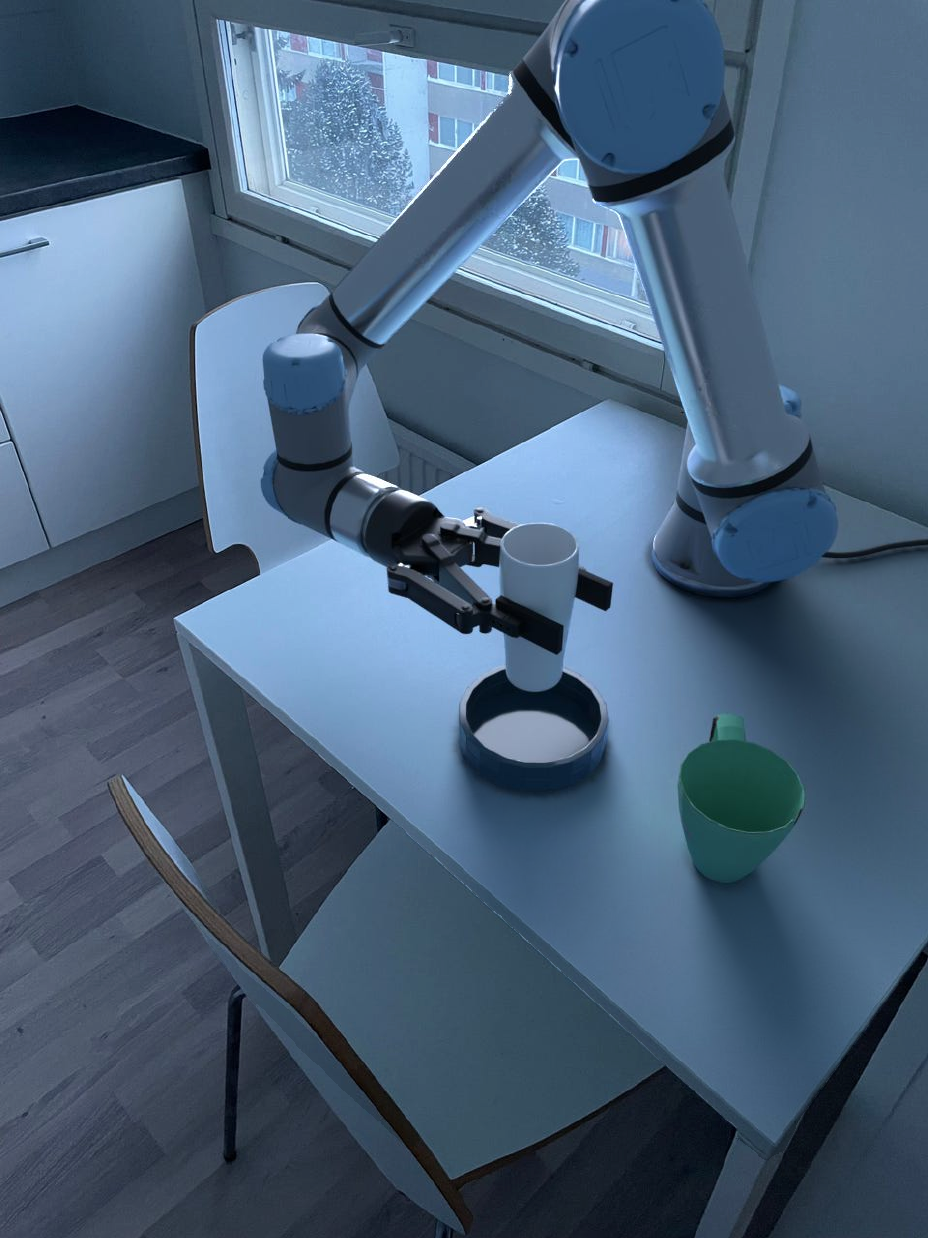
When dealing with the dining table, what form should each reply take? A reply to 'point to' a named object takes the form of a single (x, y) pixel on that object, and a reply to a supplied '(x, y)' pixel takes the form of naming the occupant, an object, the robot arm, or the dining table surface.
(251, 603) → the dining table surface
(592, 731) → the round dark tray
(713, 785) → the mug
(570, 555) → the drinking glass
